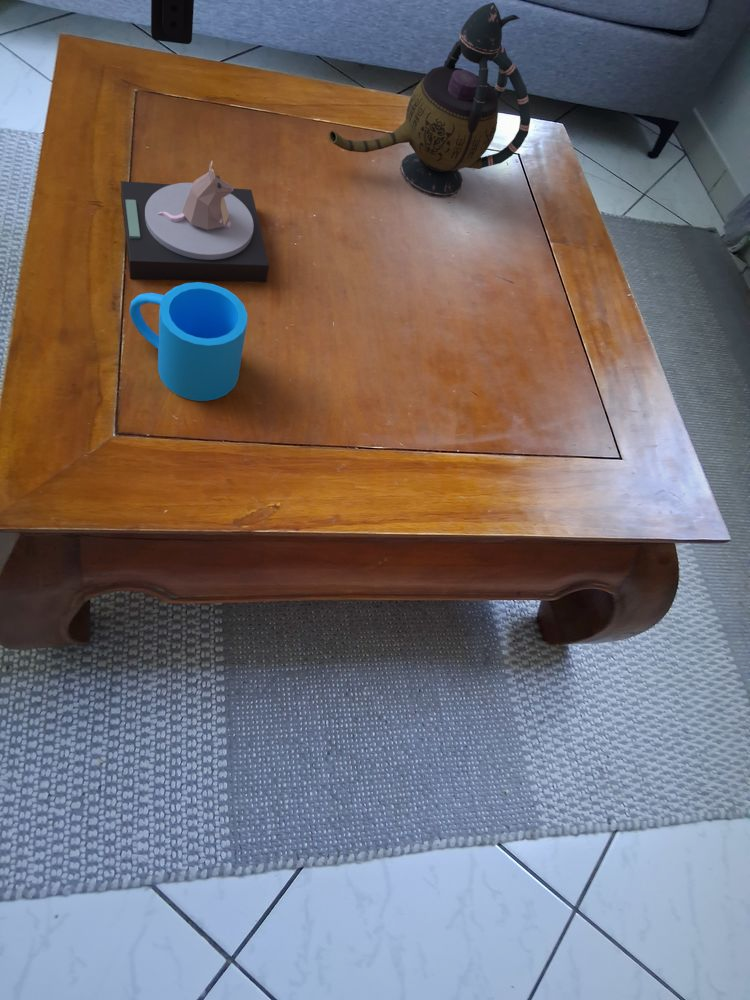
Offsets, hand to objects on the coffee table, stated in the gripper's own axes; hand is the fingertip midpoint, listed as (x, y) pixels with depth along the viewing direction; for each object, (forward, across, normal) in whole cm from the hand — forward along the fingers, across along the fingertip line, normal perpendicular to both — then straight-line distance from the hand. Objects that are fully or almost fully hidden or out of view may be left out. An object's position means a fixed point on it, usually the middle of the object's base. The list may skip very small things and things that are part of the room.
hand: (165, 7), depth 65 cm
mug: (+26, +16, +1) cm, 31 cm away
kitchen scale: (+26, -2, +4) cm, 27 cm away
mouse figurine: (+23, -2, +4) cm, 24 cm away
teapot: (+26, -17, +35) cm, 47 cm away
